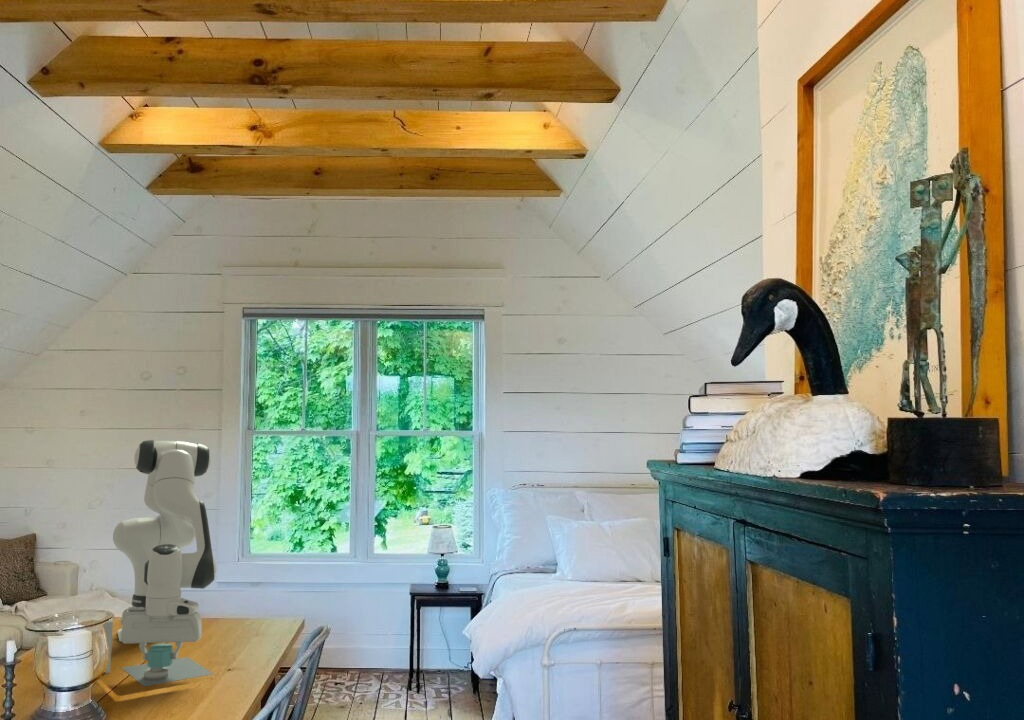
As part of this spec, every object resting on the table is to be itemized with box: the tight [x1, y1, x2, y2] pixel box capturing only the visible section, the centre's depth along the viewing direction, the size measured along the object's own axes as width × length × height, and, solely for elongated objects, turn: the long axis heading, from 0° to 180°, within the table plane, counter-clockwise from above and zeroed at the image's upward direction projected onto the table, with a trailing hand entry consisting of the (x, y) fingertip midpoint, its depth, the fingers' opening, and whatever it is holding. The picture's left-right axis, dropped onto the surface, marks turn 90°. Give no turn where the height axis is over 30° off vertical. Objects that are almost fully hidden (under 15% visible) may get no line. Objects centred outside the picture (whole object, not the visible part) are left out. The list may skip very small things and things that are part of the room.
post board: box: [121, 656, 214, 691], centre depth 222 cm, size 22×18×8 cm
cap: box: [146, 643, 174, 668], centre depth 217 cm, size 6×6×5 cm
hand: (160, 659), depth 218 cm, fingers closed on cap, 6 cm apart
